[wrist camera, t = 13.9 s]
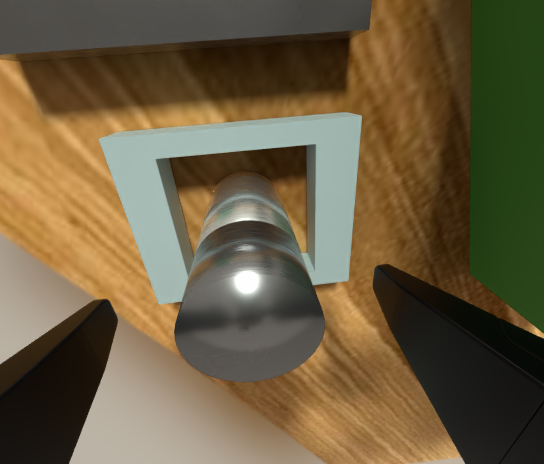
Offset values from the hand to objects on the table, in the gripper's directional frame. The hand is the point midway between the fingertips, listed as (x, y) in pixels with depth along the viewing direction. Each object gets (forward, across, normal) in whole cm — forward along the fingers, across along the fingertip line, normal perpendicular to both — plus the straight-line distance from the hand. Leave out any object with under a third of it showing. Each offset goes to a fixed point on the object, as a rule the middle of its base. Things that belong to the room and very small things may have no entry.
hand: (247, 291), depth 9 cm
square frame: (+7, 0, 0) cm, 7 cm away
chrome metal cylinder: (+7, 0, 0) cm, 7 cm away
